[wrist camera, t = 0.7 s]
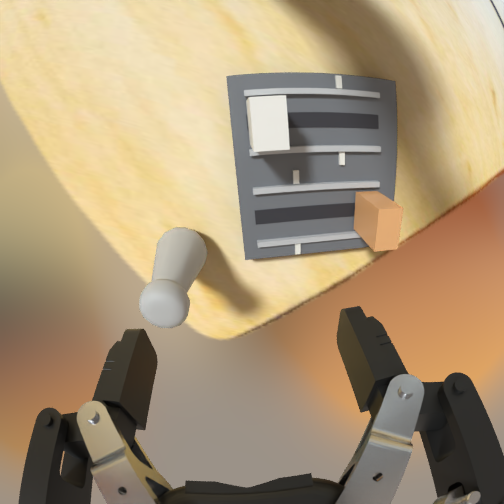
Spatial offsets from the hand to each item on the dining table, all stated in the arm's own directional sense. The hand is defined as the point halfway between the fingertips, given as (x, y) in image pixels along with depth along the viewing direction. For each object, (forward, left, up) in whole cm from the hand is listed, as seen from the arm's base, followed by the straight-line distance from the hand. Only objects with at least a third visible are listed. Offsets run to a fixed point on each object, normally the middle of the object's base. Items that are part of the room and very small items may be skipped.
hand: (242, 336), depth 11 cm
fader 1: (-7, +3, -19) cm, 21 cm away
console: (-2, +9, -22) cm, 24 cm away
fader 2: (+3, +14, -19) cm, 24 cm away
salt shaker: (+6, -7, -22) cm, 24 cm away
